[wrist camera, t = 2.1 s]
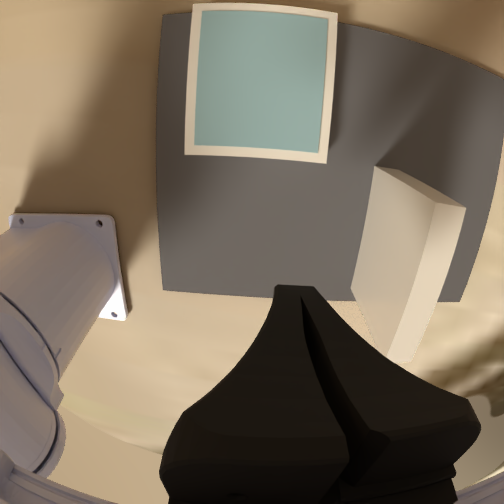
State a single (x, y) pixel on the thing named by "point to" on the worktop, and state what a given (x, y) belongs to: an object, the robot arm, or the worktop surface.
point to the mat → (325, 170)
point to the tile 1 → (260, 81)
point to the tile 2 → (403, 259)
